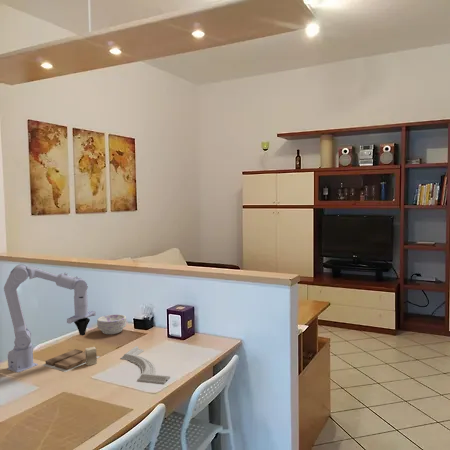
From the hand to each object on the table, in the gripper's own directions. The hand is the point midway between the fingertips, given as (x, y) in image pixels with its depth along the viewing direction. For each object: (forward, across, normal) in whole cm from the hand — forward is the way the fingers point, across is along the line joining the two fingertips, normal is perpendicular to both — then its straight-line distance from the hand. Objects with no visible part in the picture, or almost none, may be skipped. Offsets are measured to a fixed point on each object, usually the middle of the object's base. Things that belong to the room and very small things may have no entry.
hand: (82, 334), depth 194 cm
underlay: (+10, -6, 0) cm, 12 cm away
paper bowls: (+11, +33, +16) cm, 38 cm away
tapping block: (+7, -3, -8) cm, 11 cm away
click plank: (+10, -6, -3) cm, 12 cm away
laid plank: (+10, -6, +5) cm, 13 cm away
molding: (+11, +7, -32) cm, 35 cm away
